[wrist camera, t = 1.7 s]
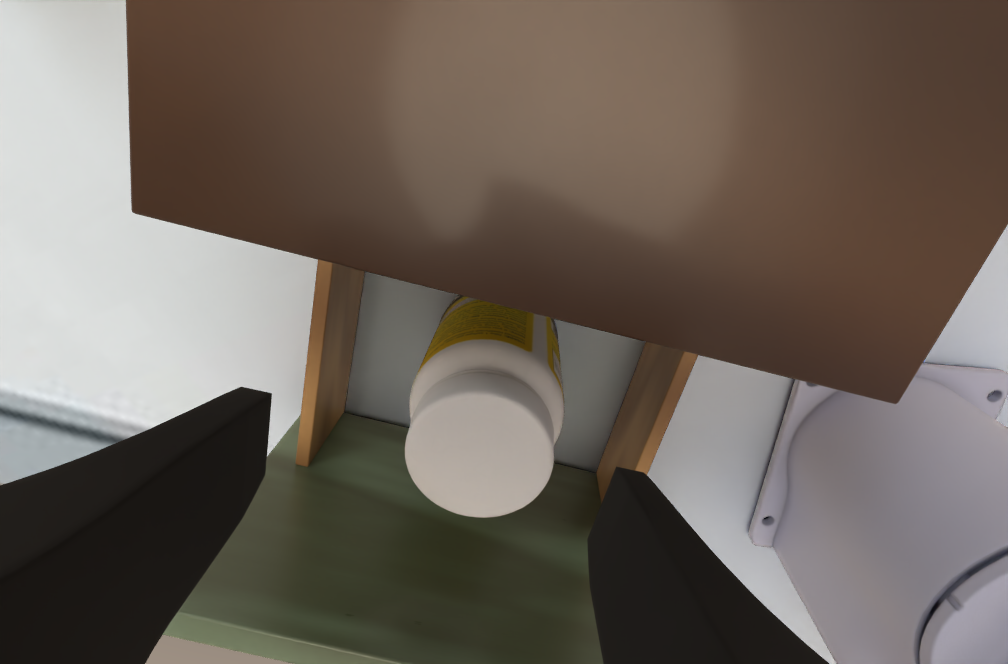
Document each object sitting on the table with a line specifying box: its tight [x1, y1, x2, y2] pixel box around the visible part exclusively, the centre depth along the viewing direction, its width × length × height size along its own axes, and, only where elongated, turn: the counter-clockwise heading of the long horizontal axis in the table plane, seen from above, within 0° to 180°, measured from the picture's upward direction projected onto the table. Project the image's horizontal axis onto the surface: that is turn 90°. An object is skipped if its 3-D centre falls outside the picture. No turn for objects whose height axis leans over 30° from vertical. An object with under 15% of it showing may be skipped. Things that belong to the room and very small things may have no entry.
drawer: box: [163, 260, 698, 664], centre depth 17 cm, size 15×15×10 cm
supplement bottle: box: [405, 295, 564, 518], centre depth 18 cm, size 5×5×8 cm
